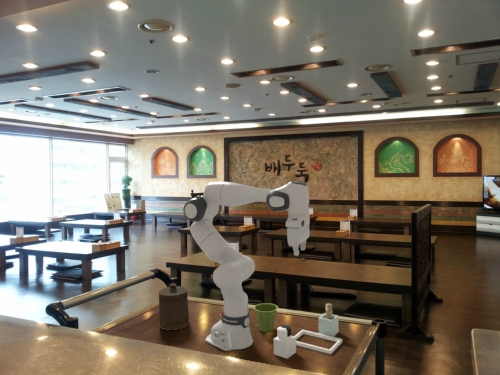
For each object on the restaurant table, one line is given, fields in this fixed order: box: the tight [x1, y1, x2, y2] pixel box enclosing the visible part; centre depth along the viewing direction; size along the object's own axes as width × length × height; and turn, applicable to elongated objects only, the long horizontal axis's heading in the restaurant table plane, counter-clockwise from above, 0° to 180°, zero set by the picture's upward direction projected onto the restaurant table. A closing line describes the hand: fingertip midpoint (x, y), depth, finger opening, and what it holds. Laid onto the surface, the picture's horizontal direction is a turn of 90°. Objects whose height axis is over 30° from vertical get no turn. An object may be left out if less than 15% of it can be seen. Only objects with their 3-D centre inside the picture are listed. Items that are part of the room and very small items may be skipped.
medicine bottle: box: [272, 324, 297, 360], centre depth 179 cm, size 7×7×12 cm
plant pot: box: [253, 302, 279, 333], centre depth 205 cm, size 12×12×11 cm
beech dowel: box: [325, 302, 333, 320], centre depth 195 cm, size 3×3×14 cm
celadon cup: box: [317, 312, 340, 337], centre depth 196 cm, size 7×7×9 cm
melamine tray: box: [294, 329, 343, 357], centre depth 187 cm, size 20×13×2 cm, turn 56°
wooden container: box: [158, 282, 190, 331], centre depth 213 cm, size 15×15×22 cm
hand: (299, 252), depth 174 cm, fingers open, 8 cm apart
